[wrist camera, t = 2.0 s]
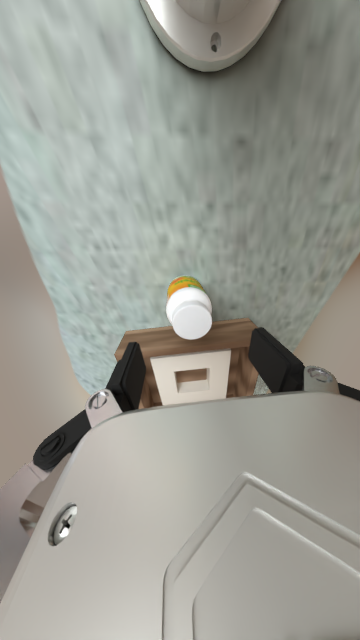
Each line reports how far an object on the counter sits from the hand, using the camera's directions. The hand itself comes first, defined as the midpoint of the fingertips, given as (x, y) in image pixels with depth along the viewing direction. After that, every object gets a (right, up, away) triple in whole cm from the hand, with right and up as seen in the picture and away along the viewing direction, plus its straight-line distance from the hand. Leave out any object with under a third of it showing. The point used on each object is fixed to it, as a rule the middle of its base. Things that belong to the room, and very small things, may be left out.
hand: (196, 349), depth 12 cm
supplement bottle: (-1, +7, +11) cm, 13 cm away
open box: (+1, -8, +19) cm, 21 cm away
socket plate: (+1, -8, +19) cm, 21 cm away
